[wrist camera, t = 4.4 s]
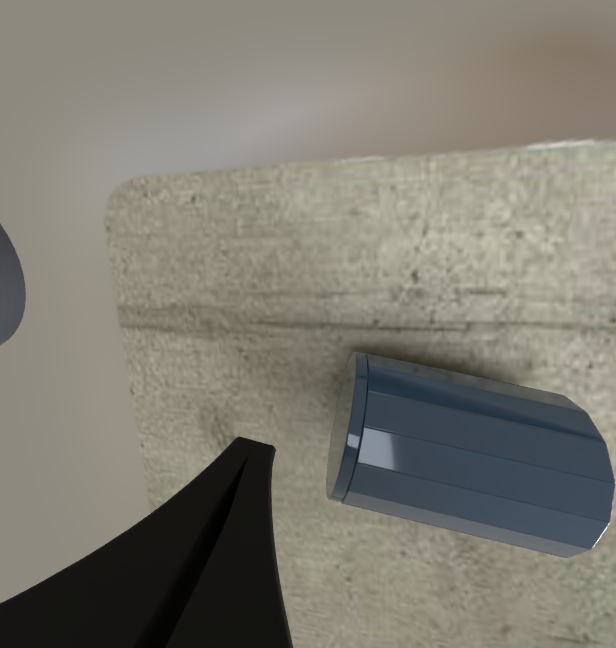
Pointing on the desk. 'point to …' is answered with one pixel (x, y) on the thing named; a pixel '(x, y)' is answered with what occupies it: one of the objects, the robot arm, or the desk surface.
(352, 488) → the tumbler
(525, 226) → the desk surface
